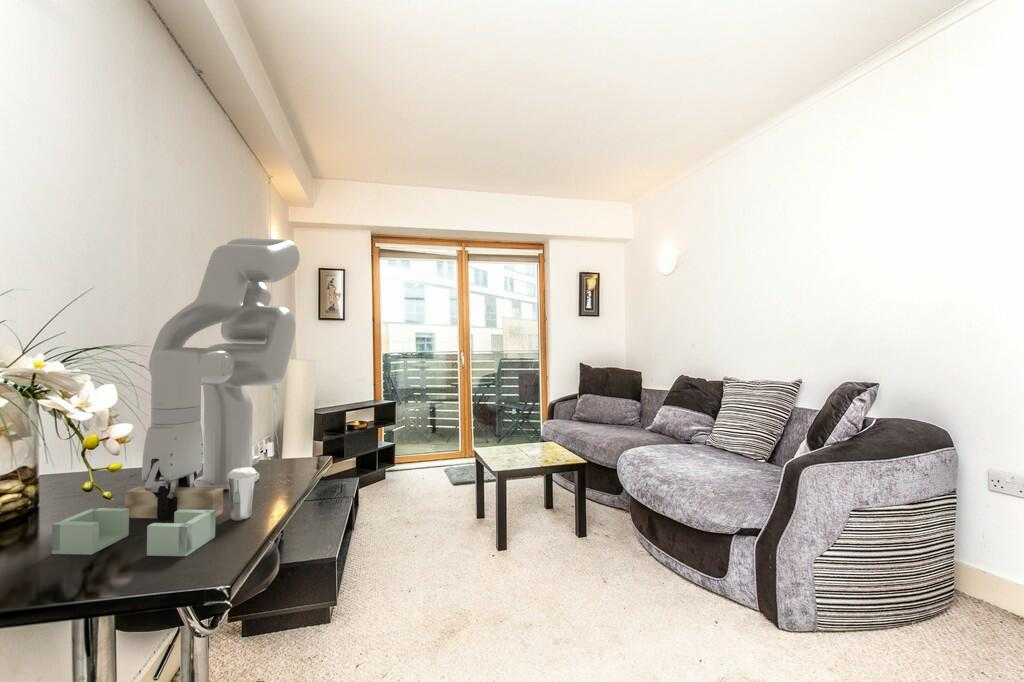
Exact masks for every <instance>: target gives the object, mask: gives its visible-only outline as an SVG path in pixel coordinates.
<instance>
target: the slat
mask: <svg viewBox="0 0 1024 682" xmlns="http://www.w3.org/2000/svg"><path fill="white" fill-rule="evenodd" d="M144 487H145V486H140V485H139V486H137V487H133V488H130V489H128V490H126V491H125V494H124V496H125V497H124V508H129V519H158V518H157V498H155V495H154V494H153V493H152V492H150V491H146V490H145V489H144ZM165 487H166V488H167V489H168V486H165ZM174 497H177V510H179V509H184V510H215V519H216V518H217V517H220V515H222V514H223V513H224V490H223V488H204V487H195V486H194V487H176V486H175V494H174Z"/></svg>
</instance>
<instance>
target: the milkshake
mask: <svg viewBox="0 0 1024 682" xmlns="http://www.w3.org/2000/svg"><path fill="white" fill-rule="evenodd" d="M244 465H245V459H242V468H238V469H233V470H232V471H230V472H229V474H228V475H227V477H228V486H229V489H228V495H229V507H230V508H229V511H230V520H233V521H243V520H247V519H248V518H251V516H252V507H253V497H254V489H255V483H256V482H255V475H256V471H257V470H256V469H255V468H253V467H252V468H251V467H250V468H249V467H246V468H244Z"/></svg>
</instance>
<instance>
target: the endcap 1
mask: <svg viewBox="0 0 1024 682" xmlns="http://www.w3.org/2000/svg"><path fill="white" fill-rule="evenodd" d="M51 528H52V530H51V531H52V533H51V534H52V535H51V536H52V537H51V538H52V539H51V542H52V543H51V548H52V549H51V553H52V555H93V554H95V553H97V552H99V551H101V550H103V549H105V548H107V547H109V546H111V545H113V544H115V543H117V542H119V541H120V540H122V539H125V538H127V537H128V536H130V535H129V533H130V518H129V508H125V507H124V508H121V507H120V508H119V507H117V508H116V507H115V508H114V507H92V508H90V509H86V510H84V511H81V512H80V513H77V514H74V515H72V516H70V517H67V518H65V519H63V520H60V521H58V522H55V523H53V524H52V527H51Z"/></svg>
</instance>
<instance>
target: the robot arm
mask: <svg viewBox="0 0 1024 682" xmlns="http://www.w3.org/2000/svg"><path fill="white" fill-rule="evenodd" d="M300 255H301V254H300V252H299V248H298V246H297V245H296V244H295V242H294V241H292V240H289V239H279V238H278V239H275V238H254V237H252V238H250V237H247V238H246V237H243V238H242V237H241V238H236V239H232V240H230V241H228V242H227V243H226V244H223V245H222V244H221V245H219V246H217V247H216V248H214V250H213V251H212V252H211V255H210V257H209V259H208V262H207V265H206V266H207V267H206V269H205V273H204V276H203V279H202V280H201V284H200V287H199V291H198V294H197V296H196V298H195V299H194V300H193V301H192V302H191V303H190V304H188V305H186V306H184V307H183V308H182V309H181V310H179V311H178V312H177V313H175V315H173V316H172V317H171V318H170V319H168V321H167V322H165V324H163V326H161V329H160V330H159V332H158V334H157V337H156V339H155V341H154V344H153V347H152V350H151V353H150V357H149V361H148V371H149V373H150V374H149V375H150V376H151V378H150V379H151V381H150V383H151V385H150V386H151V387H150V388H151V389H150V390H151V391H150V393H151V394H150V395H151V396H150V398H151V399H150V426H149V427H148V428H147V432H146V436H145V440H144V444H143V445H144V446H143V454H142V463H141V479H142V481H143V482H144V483H145V484H144V486H143V487H144V489H145V490H146V491H150V492H152V493H153V494H154V495H155V498H157V518H156V519H158V520H173V521H174V512H175V511H177V497H174V494H175V487H204V488H223V491H224V490H229V486H228V477H227V475H228V474H229V472H230V471H232V470H233V469H238V468H242V459H245V465H244V468H246V467H249V468H250V467H251V468H253V466H254V465H256V464H258V463H259V462H260V456H258V455H255V454H254V455H253V422H254V421H253V418H254V417H253V415H254V412H253V411H254V409H253V408H254V406H253V402H252V399H251V396H250V395H249V393H248V392H247V391H246V390H245V388H244V387H245V386H246V387H247V386H249V387H250V386H251V387H252V386H254V387H255V386H258V387H262V386H263V387H264V386H275V385H277V384H279V383H281V381H282V380H283V379H284V377H285V375H286V373H287V372H286V371H287V368H288V364H289V360H290V356H291V353H292V352H291V351H292V348H293V345H294V341H295V336H296V320H295V316H294V314H293V313H292V311H291V310H290V309H289V308H287V307H285V306H284V307H283V306H276V305H274V306H273V305H270V304H271V299H272V294H271V291H270V290H269V288H268V287H267V285H266V284H265V283H277V282H279V281H281V280H283V279H286V278H287V277H289V276H291V275H292V274H293V273H295V271H296V270H297V269H298V267H299V264H300V258H301V257H300ZM219 324H221V325H220V334H221V337H222V338H223V339H224V341H226V342H227V343H217V344H213V345H210V346H208V347H185V344H186V343H187V341H188V340H189V339H191V337H193V336H194V335H195V334H197V333H199V332H201V331H202V330H204V329H207V328H209V327H212V326H215V325H219ZM202 389H203V430H202V425H201V424H202V423H201V421H202V420H201V417H202V416H201V414H202V413H201V411H202V410H201V409H202V407H201V406H202V405H201V404H202ZM202 432H203V433H202ZM201 470H202V475H201V476H199V477H198V475H199V473H200V472H201ZM255 471H256V475H255V483H256V482H257V481H258V480H260V472H258V471H257V470H255ZM165 485H167V486H165ZM166 487H168V489H167V488H166Z"/></svg>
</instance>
